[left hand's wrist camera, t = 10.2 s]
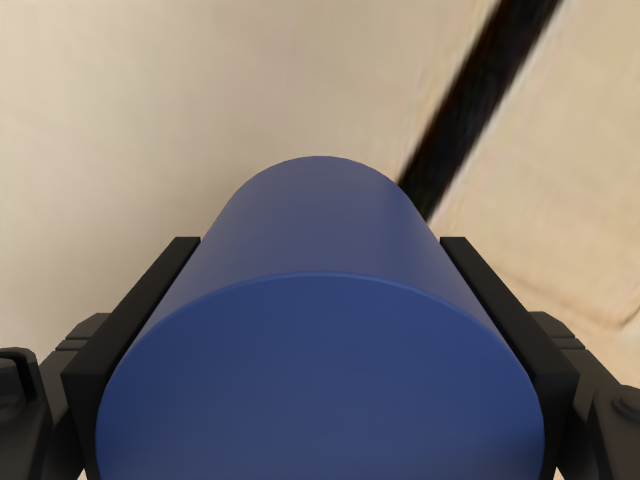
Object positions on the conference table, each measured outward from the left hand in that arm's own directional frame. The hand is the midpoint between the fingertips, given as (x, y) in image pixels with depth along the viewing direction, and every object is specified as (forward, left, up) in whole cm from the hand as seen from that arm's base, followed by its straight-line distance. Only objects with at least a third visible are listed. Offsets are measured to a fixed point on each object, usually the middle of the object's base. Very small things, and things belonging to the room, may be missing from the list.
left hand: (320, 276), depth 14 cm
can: (0, 0, -1) cm, 1 cm away
